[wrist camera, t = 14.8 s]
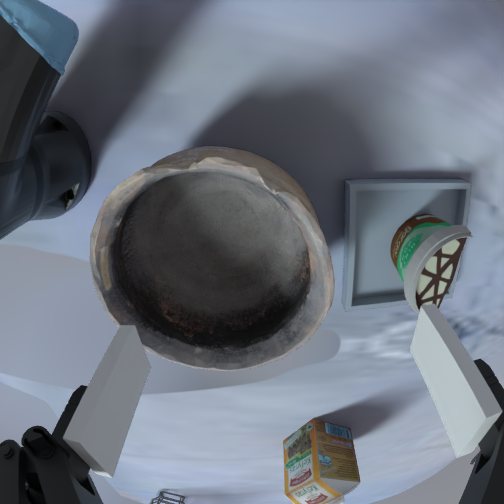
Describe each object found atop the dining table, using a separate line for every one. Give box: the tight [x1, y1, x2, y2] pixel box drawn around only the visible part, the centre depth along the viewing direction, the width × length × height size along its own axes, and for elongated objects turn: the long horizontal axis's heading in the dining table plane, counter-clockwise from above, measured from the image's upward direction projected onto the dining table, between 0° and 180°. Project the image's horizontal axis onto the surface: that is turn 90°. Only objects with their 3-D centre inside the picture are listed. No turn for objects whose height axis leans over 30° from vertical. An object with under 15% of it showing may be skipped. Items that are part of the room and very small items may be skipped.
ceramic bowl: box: [90, 146, 334, 371], centre depth 33 cm, size 22×22×15 cm
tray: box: [342, 178, 471, 312], centre depth 39 cm, size 18×18×2 cm
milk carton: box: [283, 418, 360, 504], centre depth 51 cm, size 11×11×19 cm
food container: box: [390, 214, 473, 314], centre depth 35 cm, size 12×6×10 cm, turn 173°
